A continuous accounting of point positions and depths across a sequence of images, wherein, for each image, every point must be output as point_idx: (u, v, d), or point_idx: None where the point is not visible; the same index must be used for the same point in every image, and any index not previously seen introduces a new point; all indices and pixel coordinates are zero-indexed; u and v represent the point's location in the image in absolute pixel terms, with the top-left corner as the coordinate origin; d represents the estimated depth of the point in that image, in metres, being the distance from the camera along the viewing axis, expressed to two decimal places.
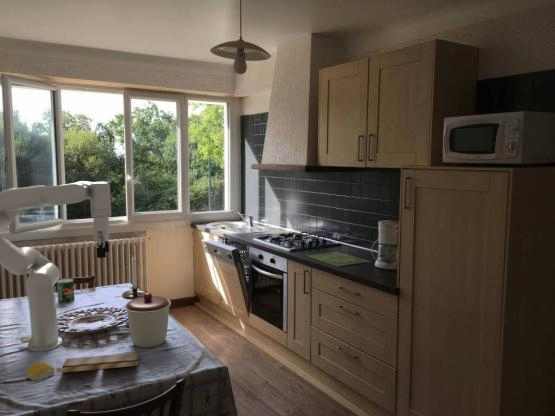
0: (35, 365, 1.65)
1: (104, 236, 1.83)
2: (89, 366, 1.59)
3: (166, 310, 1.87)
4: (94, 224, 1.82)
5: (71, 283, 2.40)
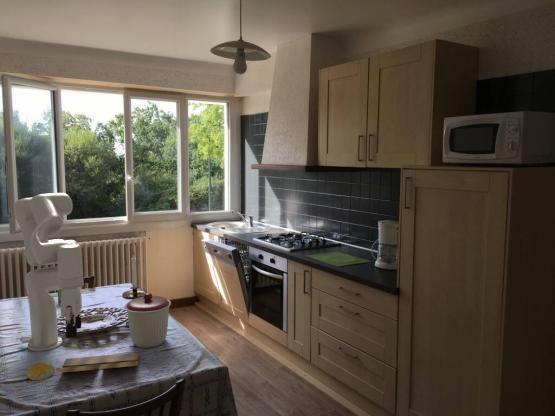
0: (35, 365, 1.65)
1: (74, 311, 1.52)
2: (89, 366, 1.59)
3: (166, 310, 1.87)
4: (61, 297, 1.51)
5: None
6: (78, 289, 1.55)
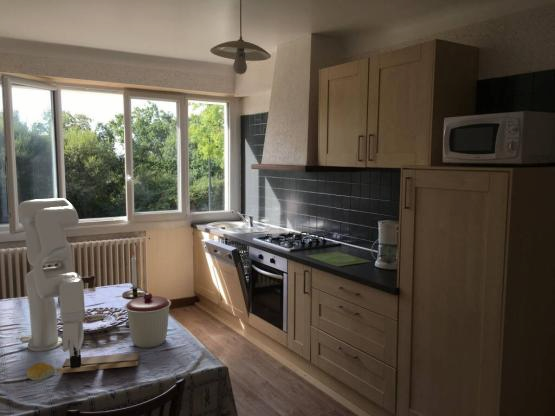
0: (35, 365, 1.64)
1: (75, 345, 1.53)
2: (89, 366, 1.59)
3: (166, 310, 1.87)
4: (63, 331, 1.52)
5: None
6: (80, 322, 1.56)
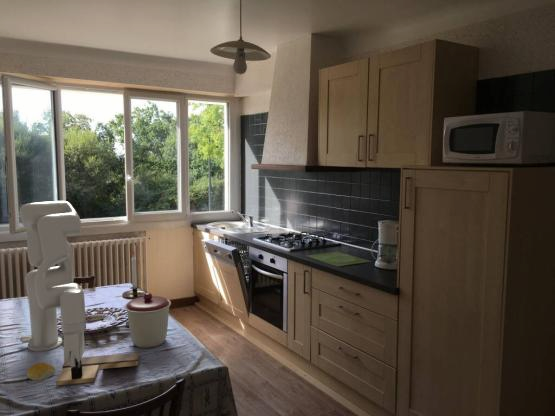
0: (35, 365, 1.64)
1: (77, 356, 1.53)
2: (89, 379, 1.59)
3: (166, 310, 1.87)
4: (64, 342, 1.52)
5: None
6: (81, 333, 1.56)
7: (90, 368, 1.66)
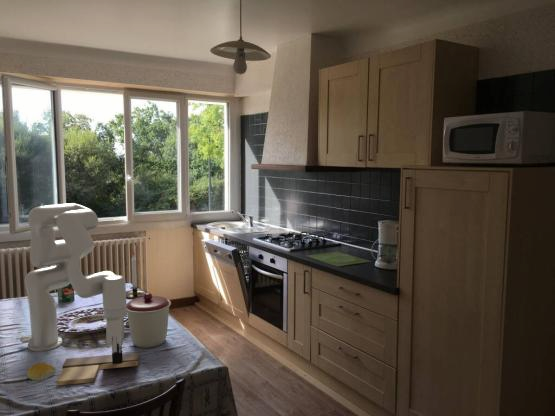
0: (36, 365, 1.64)
1: (119, 341, 1.56)
2: (89, 379, 1.59)
3: (166, 310, 1.87)
4: (107, 328, 1.55)
5: None
6: (122, 319, 1.59)
7: (90, 368, 1.66)
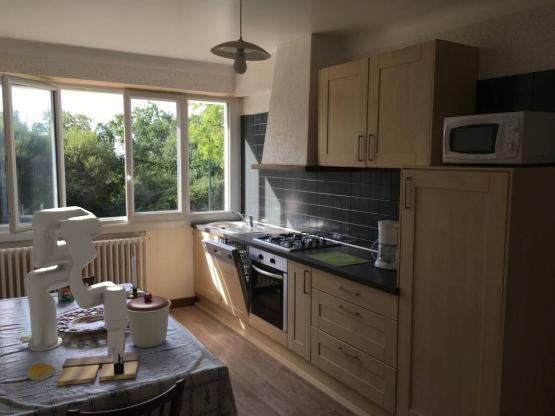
0: (36, 365, 1.64)
1: (120, 352, 1.56)
2: (89, 379, 1.59)
3: (166, 310, 1.87)
4: (108, 339, 1.55)
5: None
6: (123, 330, 1.59)
7: (90, 368, 1.66)
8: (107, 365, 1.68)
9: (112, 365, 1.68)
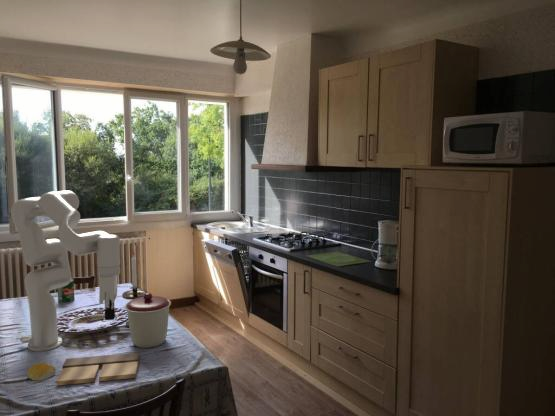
0: (36, 365, 1.64)
1: (111, 297, 1.62)
2: (89, 379, 1.59)
3: (166, 310, 1.87)
4: (100, 284, 1.61)
5: (71, 283, 2.40)
6: (115, 277, 1.64)
7: (90, 368, 1.66)
8: (107, 365, 1.68)
9: (112, 365, 1.68)
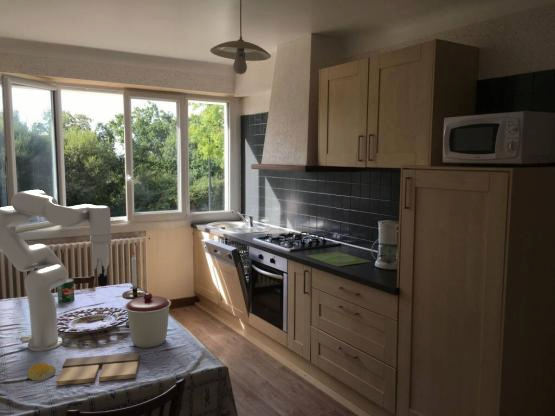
0: (36, 365, 1.64)
1: (103, 264, 1.73)
2: (89, 379, 1.59)
3: (166, 310, 1.87)
4: (93, 251, 1.72)
5: (71, 283, 2.40)
6: (107, 245, 1.76)
7: (90, 368, 1.66)
8: (107, 365, 1.68)
9: (112, 365, 1.68)
